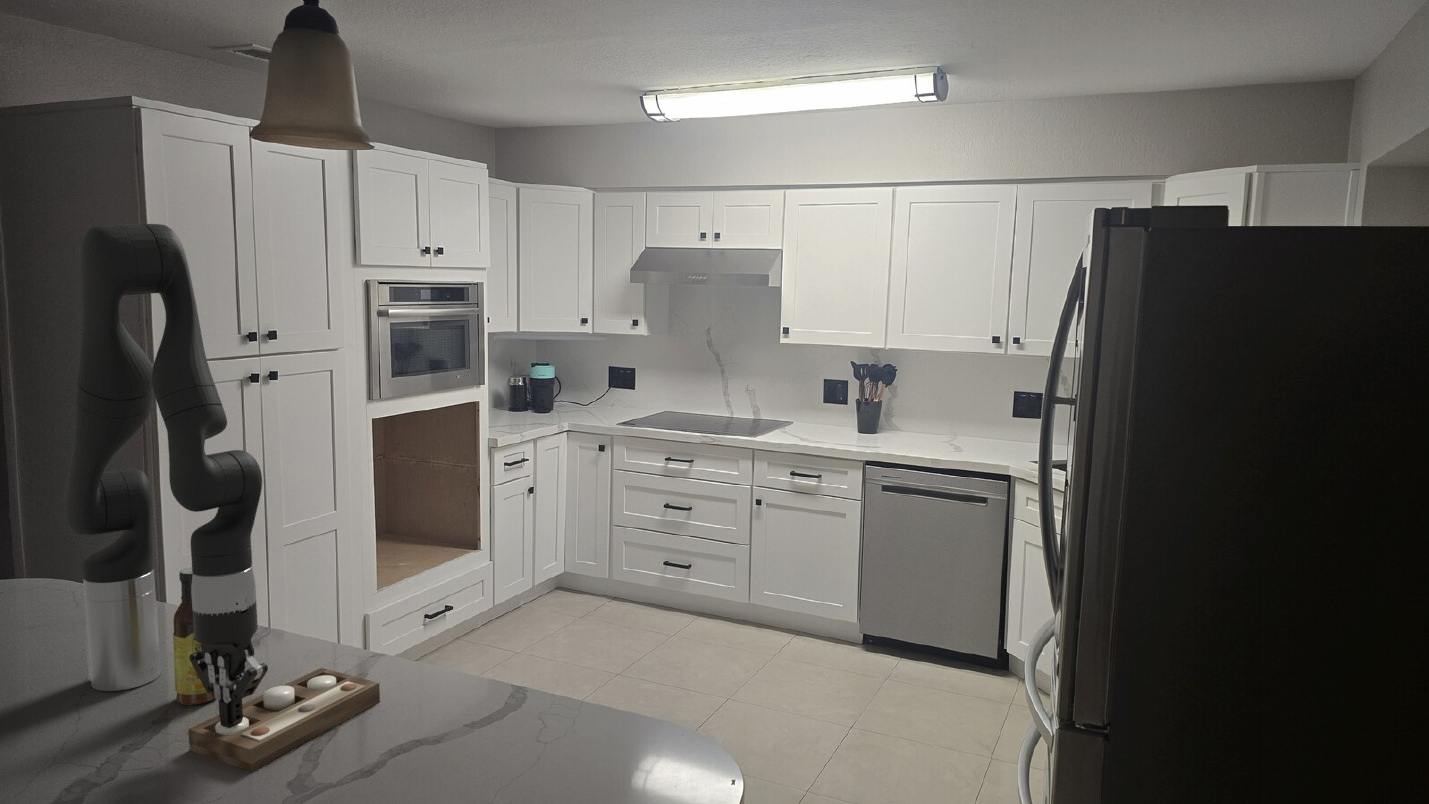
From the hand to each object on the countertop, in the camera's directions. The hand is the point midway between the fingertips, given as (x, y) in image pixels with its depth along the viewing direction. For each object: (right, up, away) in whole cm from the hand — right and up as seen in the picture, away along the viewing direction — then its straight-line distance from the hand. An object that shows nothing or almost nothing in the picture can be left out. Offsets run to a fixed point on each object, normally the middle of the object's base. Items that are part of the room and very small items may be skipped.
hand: (231, 724), depth 124 cm
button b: (+3, 0, +7) cm, 8 cm away
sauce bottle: (-12, -1, +15) cm, 19 cm away
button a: (+6, 0, +14) cm, 15 cm away
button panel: (+5, -2, +7) cm, 8 cm away
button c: (0, -2, 0) cm, 2 cm away
